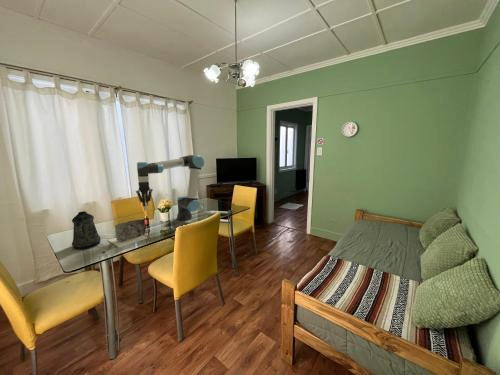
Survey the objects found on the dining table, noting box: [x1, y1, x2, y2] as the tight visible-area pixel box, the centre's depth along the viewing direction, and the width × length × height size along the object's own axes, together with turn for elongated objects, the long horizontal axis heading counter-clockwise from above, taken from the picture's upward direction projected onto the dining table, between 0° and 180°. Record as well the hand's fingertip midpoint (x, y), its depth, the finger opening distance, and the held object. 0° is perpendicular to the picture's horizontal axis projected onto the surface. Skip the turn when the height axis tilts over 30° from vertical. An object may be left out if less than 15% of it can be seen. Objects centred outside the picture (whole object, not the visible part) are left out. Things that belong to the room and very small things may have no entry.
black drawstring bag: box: [71, 210, 102, 251], centre depth 149 cm, size 16×19×25 cm
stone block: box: [115, 218, 147, 242], centre depth 163 cm, size 13×7×20 cm
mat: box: [107, 234, 150, 249], centre depth 162 cm, size 22×20×1 cm
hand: (145, 209), depth 171 cm, fingers closed
